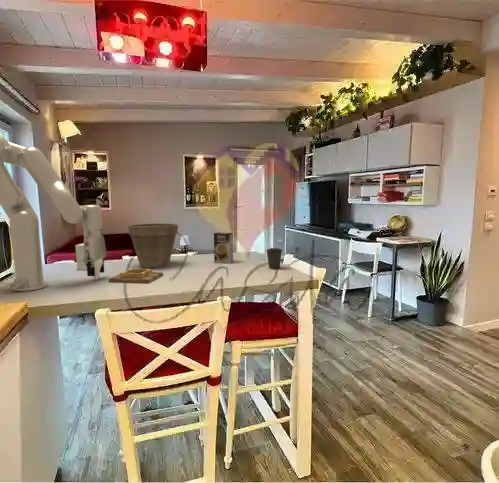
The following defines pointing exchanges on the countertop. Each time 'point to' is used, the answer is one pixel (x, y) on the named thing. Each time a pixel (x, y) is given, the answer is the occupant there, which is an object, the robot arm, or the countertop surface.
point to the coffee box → (223, 247)
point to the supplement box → (80, 257)
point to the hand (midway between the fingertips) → (96, 273)
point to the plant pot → (153, 243)
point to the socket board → (136, 276)
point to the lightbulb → (97, 268)
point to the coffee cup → (274, 257)
